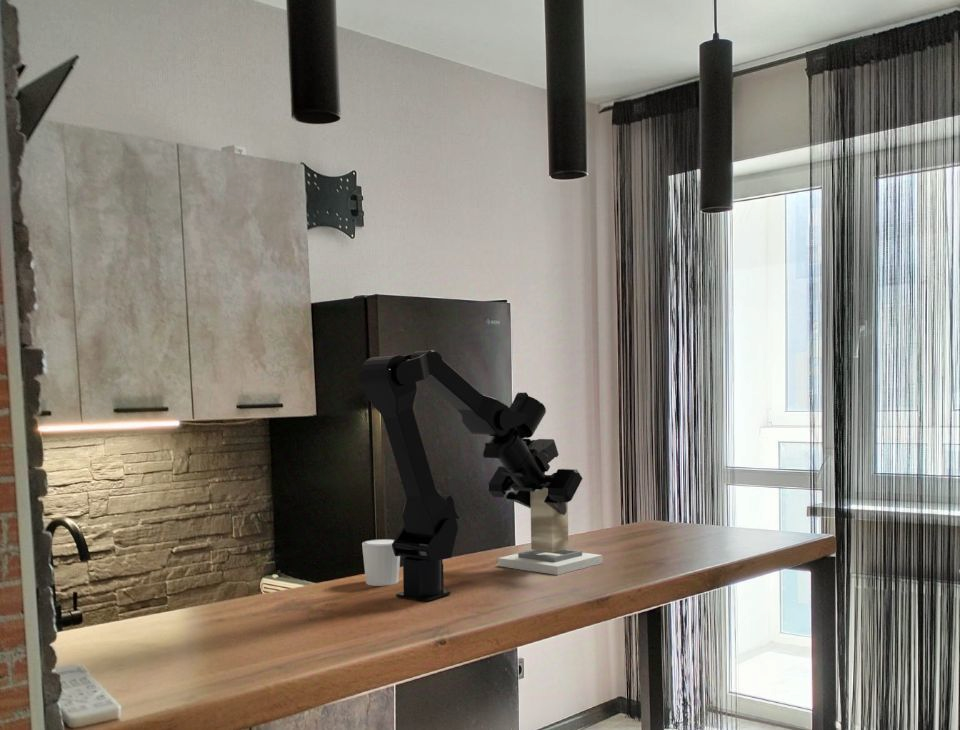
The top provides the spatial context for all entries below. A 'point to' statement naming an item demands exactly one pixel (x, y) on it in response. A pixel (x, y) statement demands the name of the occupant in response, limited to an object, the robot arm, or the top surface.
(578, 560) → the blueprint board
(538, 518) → the maple pillar
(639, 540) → the top surface
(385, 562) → the white cup
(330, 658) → the top surface
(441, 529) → the robot arm
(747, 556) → the top surface
